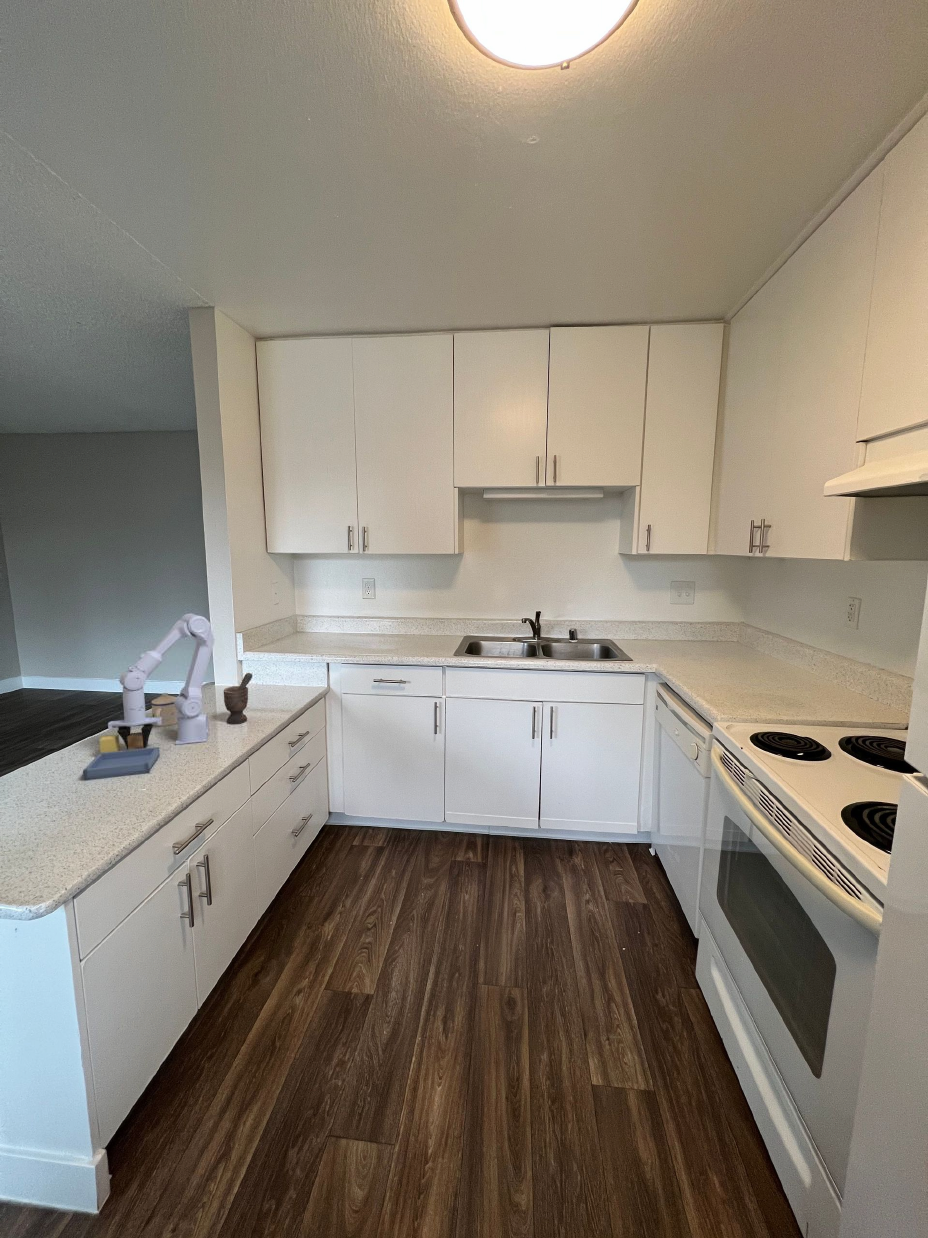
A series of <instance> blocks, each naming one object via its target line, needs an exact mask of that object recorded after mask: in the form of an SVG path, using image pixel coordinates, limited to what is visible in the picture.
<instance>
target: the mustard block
mask: <svg viewBox="0 0 928 1238" xmlns="http://www.w3.org/2000/svg"><path fill="white" fill-rule="evenodd" d="M99 748H100V751H99V753H104V752H114V751H121V747H120V735H119V734H118V733H117V734H108V735H106V734H105V735H103V736H102V737H101V738H100V739H99Z"/></svg>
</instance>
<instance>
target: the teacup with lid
mask: <svg viewBox="0 0 928 1238" xmlns="http://www.w3.org/2000/svg"><path fill="white" fill-rule="evenodd" d="M177 697H178V696H172V695H170V694H169V693H167V692H163V693H162V694H161V695H160V696H158V697H157V698H155V699H153V700H151V702H150V705H151V710H152V711H151V712H152V713H151V714H152V717H154V718H158V717H162V724H161V725H157V724H155V725H154V726H155V727H168V725H169V726H172V725H177V714H178V710H177V709H176V708H175V705H174V702H175V699H176V698H177Z"/></svg>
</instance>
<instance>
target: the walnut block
mask: <svg viewBox="0 0 928 1238" xmlns="http://www.w3.org/2000/svg"><path fill="white" fill-rule="evenodd" d="M127 739H128V749H127V750H134V749H144V747H143V735H142V731H141V732H140V731H139V732H131V733H130V735H129V736H128V737H127ZM146 748H148V746H147V747H146Z"/></svg>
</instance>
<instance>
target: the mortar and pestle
mask: <svg viewBox="0 0 928 1238" xmlns="http://www.w3.org/2000/svg"><path fill="white" fill-rule="evenodd" d="M252 678H253V674H252V673H250V672H246V674H245V675H244V676H243V678H242V679H241V682H240V685H233V686H229V687H225V688H224V689H223V701H224V706H225V709H226V710H227V711H228V712H229V713H230V714H229V715H228V717H227V718H226V724H229V725H237V724H244V723H246V722H247V721H248V717H247V715H246V714H244V710H246V708H247V706H248V702H249V687H248V686H247V685H249V683H250V682H251V680H252Z"/></svg>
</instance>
